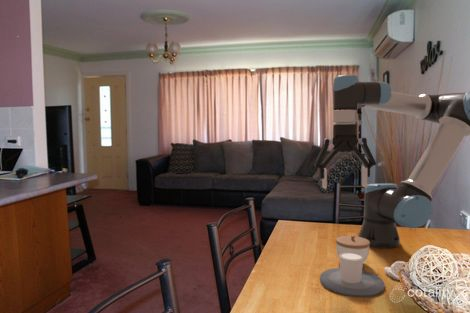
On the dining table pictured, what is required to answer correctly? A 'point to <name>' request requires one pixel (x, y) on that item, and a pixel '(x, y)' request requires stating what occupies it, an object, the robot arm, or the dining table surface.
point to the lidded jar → (353, 245)
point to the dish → (352, 284)
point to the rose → (394, 269)
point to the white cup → (351, 267)
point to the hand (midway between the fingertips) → (344, 187)
